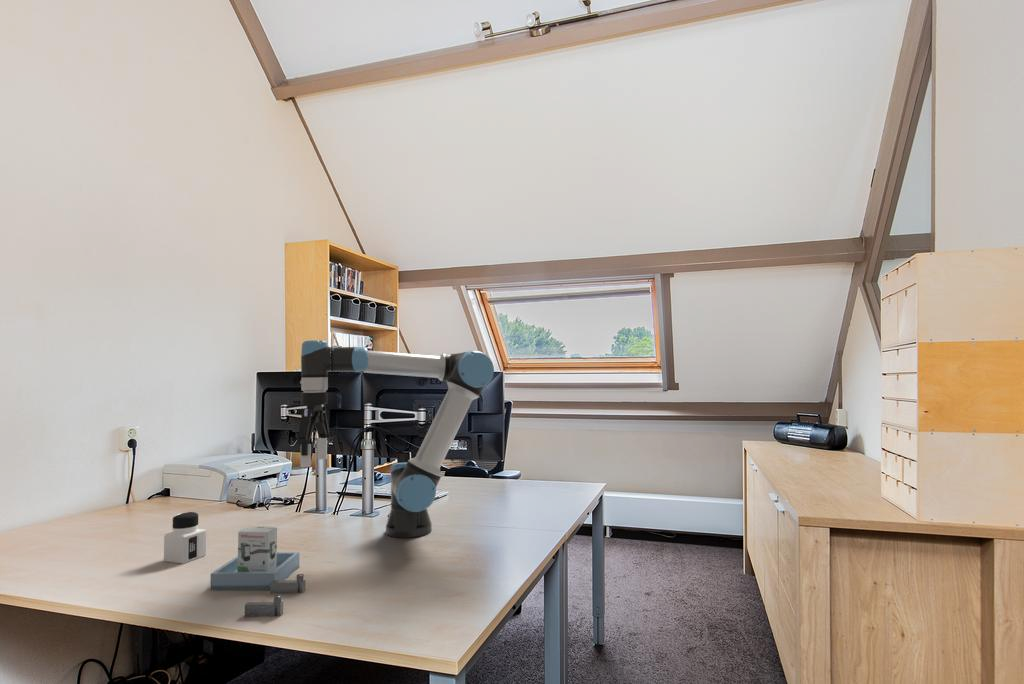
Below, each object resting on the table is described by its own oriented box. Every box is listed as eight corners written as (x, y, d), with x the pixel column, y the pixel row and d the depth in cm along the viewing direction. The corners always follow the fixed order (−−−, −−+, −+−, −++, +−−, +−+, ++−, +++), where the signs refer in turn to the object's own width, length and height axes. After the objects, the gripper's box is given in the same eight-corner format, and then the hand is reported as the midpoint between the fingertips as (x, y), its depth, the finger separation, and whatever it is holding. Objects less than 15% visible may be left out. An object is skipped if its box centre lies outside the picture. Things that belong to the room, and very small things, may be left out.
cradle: (305, 590, 138) (305, 573, 139) (280, 616, 124) (280, 597, 124) (273, 590, 138) (273, 574, 139) (244, 616, 124) (244, 598, 124)
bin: (299, 566, 155) (299, 552, 155) (274, 589, 139) (274, 573, 139) (242, 567, 155) (242, 552, 155) (210, 590, 139) (210, 573, 140)
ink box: (236, 577, 145) (236, 531, 146) (247, 570, 150) (247, 525, 151) (267, 578, 144) (267, 531, 145) (277, 571, 149) (277, 526, 150)
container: (206, 555, 166) (206, 511, 166) (183, 564, 159) (184, 517, 159) (186, 553, 168) (187, 509, 169) (163, 561, 161) (163, 515, 162)
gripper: (316, 390, 181) (316, 456, 180) (284, 393, 156) (284, 470, 155) (340, 390, 181) (339, 456, 180) (311, 393, 156) (311, 470, 155)
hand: (314, 463), depth 167 cm, fingers open, 13 cm apart
